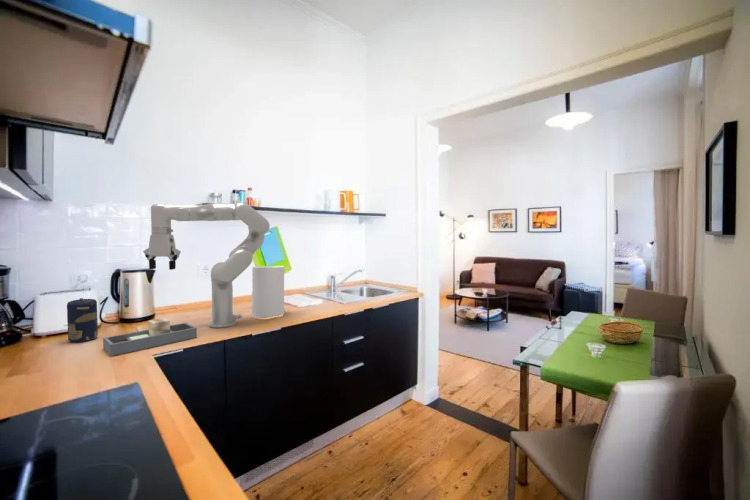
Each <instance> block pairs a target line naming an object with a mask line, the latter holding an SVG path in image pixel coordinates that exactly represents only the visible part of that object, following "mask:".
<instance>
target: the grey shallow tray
mask: <svg viewBox="0 0 750 500" xmlns="http://www.w3.org/2000/svg"><path fill="white" fill-rule="evenodd" d="M197 330H198V329H197V327H196V326H194V325H192V324H189V323H188V322H183V323H176V324H172V325H171V324H170V333H165V334H159V335H154V336H150V335H149V329H145V330H139V331H134V332H128V333H122V334H117V335H116V334H115V335H112V336H107V337H102V340H103V341H102V344H103V347H102V349H103V350H104V352H105V353H107V354H108V356H110V357H111V358H113V357H115V356H120V355H121V354H122V355H125V354H129V353H130V354H131V353H134V352H139V351H143V350H147V349H153V348H157V347H161V346H167V345H171V344H175V343H179V342H183V341H184V342H185V341H188V340H193V339H197V338H198V337H197V336H198V334H197V332H198V331H197ZM112 356H113V357H112Z"/></svg>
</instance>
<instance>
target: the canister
mask: <svg viewBox="0 0 750 500" xmlns="http://www.w3.org/2000/svg"><path fill="white" fill-rule="evenodd" d="M66 313H67V315H66V316H67V317H66V319H67V320H66V321H67V339H68V341H69V342H70V343H71V342H72V343H80V342H86V341H91V340H93V339H95V338H97V337H98V335H99V329H98V328H99V321H98V301H97V300H96V299H93V298H83V297H81V298H79V299H75V300H70V301H68V302H67V304H66Z"/></svg>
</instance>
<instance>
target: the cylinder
mask: <svg viewBox="0 0 750 500" xmlns="http://www.w3.org/2000/svg"><path fill="white" fill-rule="evenodd" d="M251 268H252V269H251V270H252V272H251V273H252V278H251V279H252V281H251V283H252V285H251V286H252V287H251V288H252V291H251V317H252V316H253V317H256V318H267V317H273V316H279V315H282V314H284V315H285V265H271V266H269V265H268V266H266V265H265V266H252V267H251ZM253 317H252V318H253Z"/></svg>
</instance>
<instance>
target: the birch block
mask: <svg viewBox="0 0 750 500" xmlns="http://www.w3.org/2000/svg"><path fill="white" fill-rule="evenodd" d="M170 326H171V320H169V319H167V318H166V317H164V318H159V319H152V320H148V330H149V335H150V336H154V335H159V334H165V333H170Z"/></svg>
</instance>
